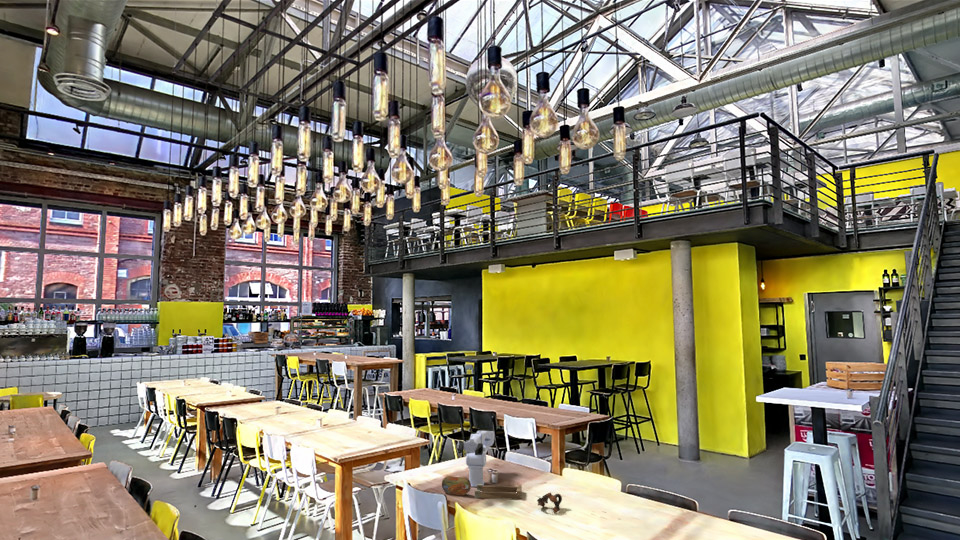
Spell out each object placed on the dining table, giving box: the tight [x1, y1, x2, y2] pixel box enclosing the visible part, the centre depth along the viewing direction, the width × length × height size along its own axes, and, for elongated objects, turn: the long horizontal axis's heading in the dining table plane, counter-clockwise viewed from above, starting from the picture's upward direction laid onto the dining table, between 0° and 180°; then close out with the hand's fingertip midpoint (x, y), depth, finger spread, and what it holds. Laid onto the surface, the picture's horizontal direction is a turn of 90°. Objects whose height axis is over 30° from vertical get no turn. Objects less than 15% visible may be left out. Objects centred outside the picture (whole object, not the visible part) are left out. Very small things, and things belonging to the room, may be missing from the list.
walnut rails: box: [474, 483, 523, 500], centre depth 258 cm, size 11×22×4 cm, turn 83°
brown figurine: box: [536, 492, 563, 514], centre depth 238 cm, size 12×10×8 cm
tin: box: [441, 475, 471, 496], centre depth 261 cm, size 15×3×8 cm, turn 68°
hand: (467, 452), depth 257 cm, fingers open, 7 cm apart
